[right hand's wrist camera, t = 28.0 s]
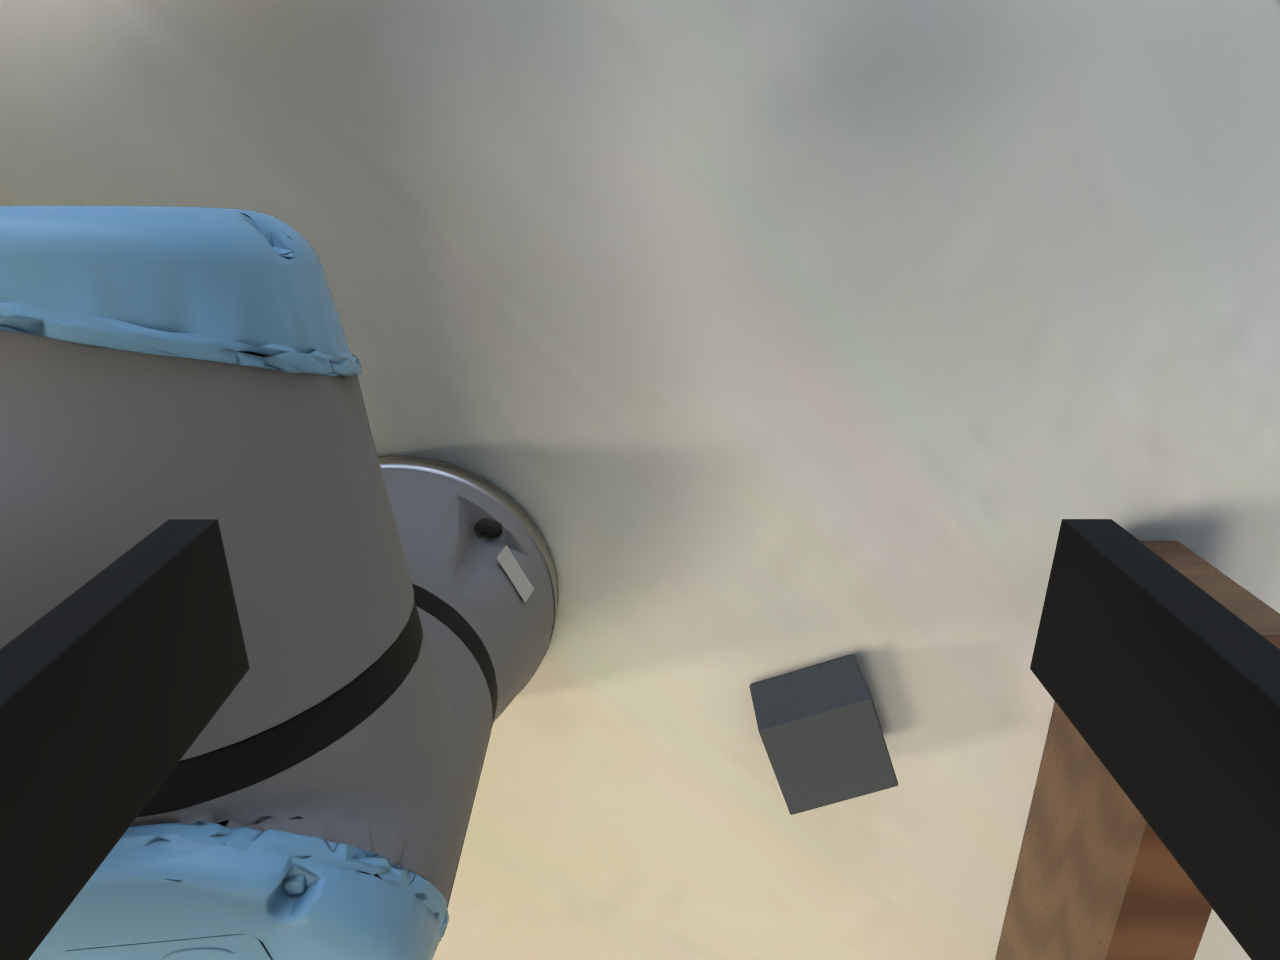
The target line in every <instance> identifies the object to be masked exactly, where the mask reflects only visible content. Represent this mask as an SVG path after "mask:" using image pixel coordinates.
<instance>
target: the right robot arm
mask: <svg viewBox="0 0 1280 960" xmlns="http://www.w3.org/2000/svg"><path fill="white" fill-rule="evenodd" d="M359 374H362V373H361V365H360V362H359V359H358V358H357V357H356V356H355V355H353V354H352V353H351V352H350V349H349V346H348V343H347V340H346V337H345V334H344V331H343V328H342V325H341V322H340V319H339V316H338V313H337V310H336V307H335V304H334V301H333V298H332V295H331V292H330V289H329V286H328V283H327V280H326V277H325V274H324V270H323V267H322V264H321V262H320V260H319V258H318V256H317V254H316V253H315V251H314V249H313V248H312V246H311V245H310V244H309V243H308V241H307V240H306V239H305V238H304V237H303V236H302V235H301V234H300V233H299V232H298V231H296V230H295V229H293V228H292V227H291V226H289V225H288V224H286V223H284V222H283V221H281V220H279V219H277V218H275V217H272V216H269V215H266V214H263V213H259V212H256V211H250V210H242V209H226V208H207V207H169V206H0V960H432V959H433V956H434V953H435V951H436V948H437V946H438V943H439V942H440V941H441V938H442V937H443V936H444V933H445V930H446V927H447V924H448V921H449V915H448V911H447V908H448V904H449V900H450V896H451V892H452V888H453V884H454V880H455V876H456V872H457V868H458V864H459V860H460V856H461V852H462V847H463V843H464V839H465V835H466V831H467V827H468V823H469V819H470V815H471V811H472V807H473V803H474V799H475V795H476V791H477V787H478V783H479V779H480V775H481V771H482V767H483V762H484V758H485V754H486V750H487V746H488V742H489V738H490V734H491V729H492V725H493V722H494V721H495V720H496V719H497V718H498V717H499V716H500V714H501V713H502V712H503V711H504V710H505V709H506V707H507V706H508V705H509V704H510V703H511V702H512V700H513V699H514V698H515V697H516V695H517V694H518V693H519V692H520V691H521V690H522V689H523V688H524V687H525V686H526V685H527V683H528V682H529V681H530V680H531V678H532V677H533V675H534V674H535V672H536V670H537V669H538V667H539V665H540V663H541V662H542V660H543V658H544V656H545V654H546V652H547V649H548V646H549V644H550V641H551V637H552V633H553V629H554V623H555V618H556V611H557V603H558V588H557V578H556V573H555V568H554V564H553V561H552V558H551V555H550V552H549V550H548V548H547V546H546V543H545V541H544V539H543V538H542V536H541V534H540V533H539V531H538V529H537V528H536V526H535V525H534V523H533V522H532V521H531V519H530V518H529V517H528V516H527V514H526V513H525V512H524V511H523V510H522V509H521V508H520V507H519V506H518V505H517V504H516V503H515V502H514V501H513V500H512V499H511V498H510V497H509V496H507V495H506V494H505V493H504V492H502V491H501V490H500V489H499V488H497V487H496V486H494V485H493V484H491V483H490V482H488V481H486V480H485V479H483V478H481V477H479V476H477V475H475V474H474V473H471V472H469V471H467V470H464V469H462V468H460V467H457V466H454V465H451V464H448V463H445V462H441V461H436V460H432V459H427V458H420V457H409V456H388V457H378V455H377V452H376V448H375V444H374V441H373V437H372V433H371V429H370V425H369V421H368V417H367V413H366V409H365V405H364V401H363V397H362V393H361V389H360V384H359V380H358V376H357V375H359ZM1030 669H1031V670H1032V672H1033V673H1034V674H1035V676H1036V677H1037V678H1038V679H1039V681H1040V682H1041V683H1042V685H1043V686H1044V687H1045V689H1046V690H1047V691H1048V693H1049V694H1050V695H1051V697H1052V698H1053V699H1054V700H1055V702H1056V703H1057V704H1058V706H1059V707H1060V708H1061V710H1062V711H1063V712H1064V714H1065V715H1066V716H1067V718H1068V719H1069V720H1070V722H1071V723H1072V724H1073V725H1074V727H1075V728H1076V729H1077V731H1078V732H1079V733H1080V735H1081V736H1082V737H1083V739H1084V740H1085V741H1086V743H1087V744H1088V745H1089V747H1090V748H1091V749H1092V750H1093V752H1094V753H1095V754H1096V756H1097V757H1098V758H1099V760H1100V761H1101V762H1102V764H1103V765H1104V766H1105V768H1106V769H1107V770H1108V771H1109V773H1110V774H1111V775H1112V777H1113V778H1114V779H1115V781H1116V782H1117V783H1118V785H1119V786H1120V787H1121V789H1122V790H1123V791H1124V793H1125V794H1126V795H1127V796H1128V798H1129V799H1130V800H1131V802H1132V803H1133V804H1134V806H1135V807H1136V808H1137V810H1138V811H1139V812H1140V814H1141V815H1142V816H1143V818H1144V819H1145V820H1146V821H1147V823H1148V824H1149V825H1150V827H1151V828H1152V829H1153V831H1154V832H1155V833H1156V835H1157V836H1158V837H1159V839H1160V840H1161V841H1162V842H1163V844H1164V845H1165V846H1166V848H1167V849H1168V850H1169V852H1170V853H1171V854H1172V856H1173V857H1174V858H1175V860H1176V861H1177V862H1178V864H1179V865H1180V866H1181V867H1182V869H1183V870H1184V871H1185V873H1186V874H1187V875H1188V877H1189V878H1190V879H1191V881H1192V882H1193V883H1194V885H1195V886H1196V887H1197V889H1198V890H1199V891H1200V892H1201V894H1202V895H1203V896H1204V898H1205V899H1206V900H1207V902H1208V903H1209V904H1210V906H1211V907H1212V908H1213V910H1214V911H1215V912H1216V913H1217V915H1218V916H1219V917H1220V919H1221V920H1222V921H1223V923H1224V924H1225V925H1226V927H1227V928H1228V929H1229V931H1230V932H1231V933H1232V935H1233V936H1234V937H1235V938H1236V940H1237V941H1238V942H1239V944H1240V945H1241V946H1242V948H1243V949H1244V950H1245V952H1246V953H1247V954H1248V956H1249V957H1250V958H1251V960H1280V649H1279V648H1277V647H1276V646H1275V645H1273V644H1272V643H1271V642H1270V641H1268V640H1267V639H1266V638H1264V637H1263V636H1262V635H1261V634H1259V633H1258V632H1257V631H1255V630H1254V629H1253V628H1251V627H1250V626H1249V625H1248V624H1246V623H1245V622H1244V621H1242V620H1241V619H1240V618H1239V617H1237V616H1236V615H1235V614H1233V613H1232V612H1231V611H1229V610H1228V609H1227V608H1226V607H1224V606H1223V605H1222V604H1220V603H1219V602H1218V601H1216V600H1215V599H1214V598H1213V597H1211V596H1210V595H1209V594H1207V593H1206V592H1205V591H1204V590H1202V589H1201V588H1200V587H1198V586H1197V585H1196V584H1194V583H1193V582H1192V581H1191V580H1189V579H1188V578H1187V577H1185V576H1184V575H1183V574H1182V573H1180V572H1179V571H1178V570H1176V569H1175V568H1174V567H1172V566H1171V565H1170V564H1169V563H1167V562H1166V561H1165V560H1163V559H1162V558H1161V557H1159V556H1158V555H1157V554H1156V553H1154V552H1153V551H1152V550H1150V549H1149V548H1148V547H1147V546H1145V545H1144V544H1143V543H1141V542H1140V541H1139V540H1137V539H1136V538H1135V537H1134V536H1132V535H1131V534H1130V533H1128V532H1127V531H1126V530H1125V529H1123V528H1122V527H1121V526H1119V525H1118V524H1117V523H1115V522H1114V521H1113V520H1112V519H1062V522H1061V527H1060V532H1059V536H1058V541H1057V546H1056V550H1055V555H1054V560H1053V564H1052V569H1051V574H1050V578H1049V583H1048V588H1047V592H1046V597H1045V602H1044V606H1043V611H1042V616H1041V620H1040V625H1039V629H1038V634H1037V639H1036V643H1035V648H1034V653H1033V657H1032V662H1031V667H1030Z"/></svg>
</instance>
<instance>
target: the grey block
mask: <svg viewBox="0 0 1280 960" xmlns="http://www.w3.org/2000/svg"><path fill="white" fill-rule="evenodd" d="M750 691H751V695H752V700H753V705H754V710H755V715H756V720H757V724H758V729H759V733H760V736H761V738H762V741H763V744H764V746H765V749H766V751H767V754H768V757H769V759H770V762H771V765H772V767H773V770H774V772H775V775H776V778H777V780H778V783H779V786H780V788H781V791H782V793H783V796H784V799H785V801H786V804H787V807H788V809H789V812H790V814H791V815H793V814H796V813H800V812H804V811H807V810H811V809H815V808H818V807H822V806H825V805H829V804H833V803H836V802H840V801H844V800H847V799H851V798H855V797H858V796H862V795H866V794H869V793H873V792H877V791H880V790H884V789H887V788H891V787H895V786H898V782H897V779H896V775H895V772H894V769H893V766H892V762H891V759H890V756H889V753H888V750H887V746H886V743H885V740H884V737H883V733H882V730H881V727H880V724H879V721H878V717H877V714H876V711H875V708H874V705H873V701H872V698H871V696H870V694H869V691H868V689H867V687H866V684H865V682H864V680H863V677H862V675H861V673H860V670H859V668H858V666H857V663H856V661H855V658H854V656H853V655H849V656H846V657H842V658H839V659H836V660H832V661H829V662H825V663H822V664H819V665H815V666H812V667H809V668H805V669H802V670H799V671H795V672H792V673H789V674H785V675H782V676H778V677H775V678H772V679H768V680H765V681H762V682H758V683H755V684H752V685H750Z"/></svg>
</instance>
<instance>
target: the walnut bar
mask: <svg viewBox="0 0 1280 960" xmlns="http://www.w3.org/2000/svg"><path fill="white" fill-rule="evenodd" d="M1140 542H1141V543H1143V544H1144V545H1145V546H1147V547H1148V548H1149V549H1150V550H1152V551H1153V552H1154V553H1156V554H1157V555H1158V556H1159V557H1161V558H1162V559H1163V560H1165V561H1166V562H1167V563H1169V564H1170V565H1171V566H1172V567H1174V568H1175V569H1176V570H1178V571H1179V572H1180V573H1182V574H1183V575H1184V576H1185V577H1187V578H1188V579H1189V580H1191V581H1192V582H1193V583H1194V584H1196V585H1197V586H1198V587H1200V588H1201V589H1202V590H1204V591H1205V592H1206V593H1207V594H1209V595H1210V596H1211V597H1213V598H1214V599H1215V600H1216V601H1218V602H1219V603H1220V604H1222V605H1223V606H1224V607H1226V608H1227V609H1228V610H1229V611H1231V612H1232V613H1233V614H1235V615H1236V616H1237V617H1239V618H1240V619H1241V620H1242V621H1244V622H1245V623H1246V624H1248V625H1249V626H1250V627H1251V628H1253V629H1254V630H1255V631H1257V632H1258V633H1259V634H1261V635H1262V636H1263V637H1264V638H1266V639H1267V640H1268V641H1270V642H1271V643H1272V644H1273V645H1275V646H1276V647H1277V648H1279V649H1280V614H1279V613H1278V612H1276V611H1275V610H1273V609H1272V608H1271V607H1269V606H1268V605H1266V604H1265V603H1264V602H1262V601H1261V600H1259V599H1258V598H1257V597H1255V596H1254V595H1252V594H1251V593H1250V592H1248V591H1247V590H1245V589H1244V588H1243V587H1241V586H1240V585H1238V584H1237V583H1236V582H1234V581H1233V580H1231V579H1230V578H1229V577H1227V576H1226V575H1224V574H1223V573H1222V572H1220V571H1219V570H1217V569H1216V568H1215V567H1213V566H1212V565H1211V564H1209V563H1208V562H1206V561H1205V560H1204V559H1202V558H1201V557H1199V556H1198V555H1197V554H1195V553H1194V552H1192V551H1191V550H1190V549H1188V548H1187V547H1185V546H1184V545H1183V544H1181V543H1180V542H1178V541H1140ZM1211 910H1212V907H1211V906H1210V904H1209V903H1208V902H1207V900H1206V899H1205V898H1204V896H1203V895H1202V894H1201V892H1200V891H1199V890H1198V889H1197V887H1196V886H1195V885H1194V883H1193V882H1192V881H1191V879H1190V878H1189V877H1188V875H1187V874H1186V873H1185V871H1184V870H1183V869H1182V867H1181V866H1180V865H1179V864H1178V862H1177V861H1176V860H1175V858H1174V857H1173V856H1172V854H1171V853H1170V852H1169V850H1168V849H1167V848H1166V846H1165V845H1164V844H1163V842H1162V841H1161V840H1160V839H1159V837H1158V836H1157V835H1156V833H1155V832H1154V831H1153V829H1152V828H1151V827H1150V825H1149V824H1148V823H1147V821H1146V820H1145V819H1144V818H1143V816H1142V815H1141V814H1140V812H1139V811H1138V810H1137V808H1136V807H1135V806H1134V804H1133V803H1132V802H1131V800H1130V799H1129V798H1128V796H1127V795H1126V794H1125V793H1124V791H1123V790H1122V789H1121V787H1120V786H1119V785H1118V783H1117V782H1116V781H1115V779H1114V778H1113V777H1112V775H1111V774H1110V773H1109V771H1108V770H1107V769H1106V768H1105V766H1104V765H1103V764H1102V762H1101V761H1100V760H1099V758H1098V757H1097V756H1096V754H1095V753H1094V752H1093V750H1092V749H1091V748H1090V747H1089V745H1088V744H1087V743H1086V741H1085V740H1084V739H1083V737H1082V736H1081V735H1080V733H1079V732H1078V731H1077V729H1076V728H1075V727H1074V725H1073V724H1072V723H1071V722H1070V720H1069V719H1068V718H1067V716H1066V715H1065V714H1064V712H1063V711H1062V710H1061V708H1060V707H1059V706H1058V704H1057V703H1056V702H1055V705H1054V710H1053V714H1052V718H1051V723H1050V727H1049V731H1048V736H1047V740H1046V744H1045V749H1044V753H1043V757H1042V762H1041V766H1040V770H1039V774H1038V779H1037V783H1036V787H1035V792H1034V796H1033V800H1032V805H1031V809H1030V813H1029V818H1028V822H1027V826H1026V831H1025V835H1024V839H1023V844H1022V848H1021V852H1020V857H1019V861H1018V865H1017V870H1016V874H1015V878H1014V883H1013V887H1012V891H1011V896H1010V900H1009V904H1008V909H1007V913H1006V917H1005V922H1004V926H1003V930H1002V934H1001V939H1000V943H999V947H998V952H997V956H996V960H1194V957H1195V955H1196V952H1197V949H1198V946H1199V944H1200V941H1201V938H1202V935H1203V932H1204V930H1205V927H1206V924H1207V921H1208V919H1209V916H1210V913H1211Z"/></svg>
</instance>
